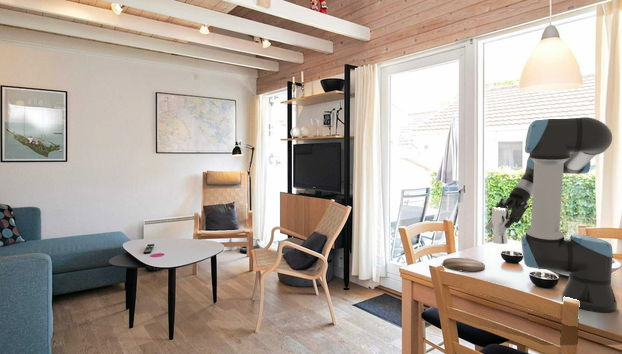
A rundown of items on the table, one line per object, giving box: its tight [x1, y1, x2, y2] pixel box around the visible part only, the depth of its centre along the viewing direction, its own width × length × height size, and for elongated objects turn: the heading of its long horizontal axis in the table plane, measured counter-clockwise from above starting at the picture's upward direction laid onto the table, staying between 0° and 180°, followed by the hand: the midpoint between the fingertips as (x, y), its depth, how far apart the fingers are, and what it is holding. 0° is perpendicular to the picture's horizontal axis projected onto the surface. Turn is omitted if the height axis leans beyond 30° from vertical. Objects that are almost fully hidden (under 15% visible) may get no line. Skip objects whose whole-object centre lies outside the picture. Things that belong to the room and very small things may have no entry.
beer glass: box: [491, 207, 510, 245], centre depth 161 cm, size 7×7×15 cm
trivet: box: [442, 257, 486, 273], centre depth 171 cm, size 18×18×1 cm
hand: (493, 230), depth 160 cm, fingers closed on beer glass, 7 cm apart
